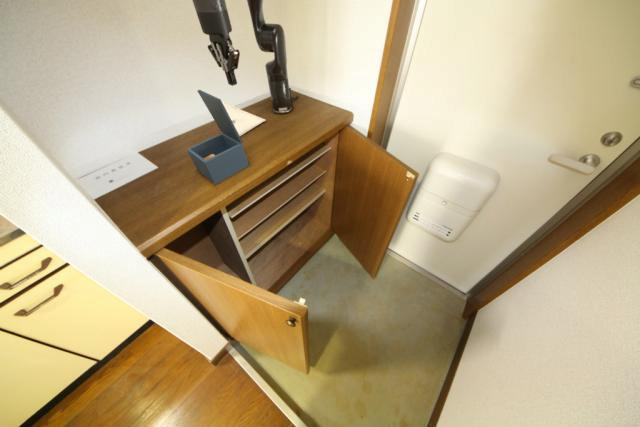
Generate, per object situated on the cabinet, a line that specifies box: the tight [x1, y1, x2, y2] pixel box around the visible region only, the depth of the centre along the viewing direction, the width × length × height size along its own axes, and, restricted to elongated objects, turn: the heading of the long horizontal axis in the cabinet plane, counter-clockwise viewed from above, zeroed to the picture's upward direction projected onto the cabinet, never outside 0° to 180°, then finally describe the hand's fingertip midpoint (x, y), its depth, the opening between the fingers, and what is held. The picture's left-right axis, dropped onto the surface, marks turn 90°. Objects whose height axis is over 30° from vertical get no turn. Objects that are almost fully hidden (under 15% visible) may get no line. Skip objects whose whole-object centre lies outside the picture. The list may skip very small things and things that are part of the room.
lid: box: [197, 89, 243, 144], centre depth 70 cm, size 15×12×1 cm
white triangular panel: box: [222, 101, 267, 137], centre depth 97 cm, size 15×6×20 cm
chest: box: [185, 132, 250, 186], centre depth 77 cm, size 14×12×9 cm
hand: (233, 84), depth 68 cm, fingers closed
